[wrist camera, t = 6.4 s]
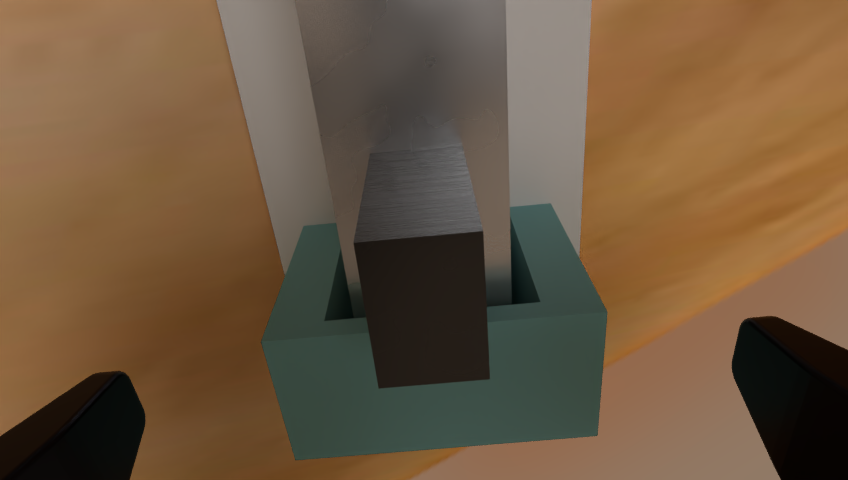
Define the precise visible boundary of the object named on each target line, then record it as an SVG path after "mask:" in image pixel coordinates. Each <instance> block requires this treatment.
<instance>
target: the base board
mask: <svg viewBox="0 0 848 480" xmlns="http://www.w3.org/2000/svg"><path fill="white" fill-rule="evenodd" d="M216 1H217V5H218V9H219V13H220V17H221V21H222V25H223V29H224V33H225V37H226V41H227V45H228V49H229V53H230V57H231V61H232V65H233V69H234V73H235V77H236V81H237V85H238V89H239V93H240V98H241V102H242V106H243V110H244V114H245V118H246V122H247V126H248V130H249V134H250V138H251V142H252V146H253V150H254V154H255V158H256V162H257V166H258V170H259V174H260V178H261V182H262V186H263V190H264V194H265V198H266V202H267V206H268V210H269V214H270V218H271V222H272V226H273V230H274V234H275V238H276V242H277V247H278V251H279V255H280V259H281V263H282V267H283V271H284V275H286V272H287V270H288V267H289V264H290V261H291V259H292V256H293V253H294V251H295V248H296V245H297V242H298V240H299V237H300V234H301V231H302V229H303V226H307V225H318V224H329V223H336V219H335V214H334V209H333V203H332V198H331V192H330V187H329V182H328V176H327V171H326V166H325V160H324V155H323V150H322V144H321V139H320V133H319V128H318V123H317V117H316V112H315V107H314V101H313V96H312V91H311V85H310V80H309V74H308V69H307V64H306V58H305V53H304V48H303V42H302V37H301V32H300V26H299V21H298V15H297V10H296V5H295V0H216ZM591 3H592V0H506V36H507V87H508V138H509V189H510V207H515V206H526V205H537V204H548V203H551V205H552V207H553V209H554V211H555V212H556V214H557V216H558V218H559V220H560V222H561V224H562V226H563V228H564V230H565V232H566V234H567V235H568V237H569V239H570V241H571V243H572V245H573V247H574V249H575V251H576V253H577V255H578V257H579V252H580V231H581V211H582V190H583V169H584V148H585V127H586V107H587V86H588V65H589V44H590V24H591Z"/></svg>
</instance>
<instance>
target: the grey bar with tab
mask: <svg viewBox="0 0 848 480" xmlns="http://www.w3.org/2000/svg"><path fill="white" fill-rule="evenodd" d="M295 5H296V10H297V15H298V21H299V26H300V32H301V37H302V42H303V48H304V53H305V58H306V64H307V69H308V74H309V80H310V85H311V91H312V96H313V101H314V107H315V112H316V117H317V123H318V128H319V133H320V139H321V144H322V150H323V155H324V160H325V166H326V171H327V176H328V182H329V187H330V192H331V198H332V203H333V209H334V214H335V219H336V225H337V230H338V235H339V241H340V246H341V251H342V257H343V262H344V268H345V273H346V278H347V284H348V289H349V294H350V300H351V305H352V310H353V316H354V318H364V317H366V319H367V325H368V330H369V336H370V342H371V348H372V354H373V359H374V365H375V371H376V377H377V382H378V388H379V389H381V388H392V387H404V386H416V385H428V384H440V383H452V382H464V381H476V380H488V379H490V367H489V345H488V324H487V307H491V306H502V305H512V290H511V240H510V189H509V138H508V87H507V36H506V0H295Z"/></svg>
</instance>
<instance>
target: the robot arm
mask: <svg viewBox="0 0 848 480" xmlns="http://www.w3.org/2000/svg"><path fill="white" fill-rule="evenodd" d="M732 372H733V376H734V379H735V381H736V384H737V386H738V388H739V390H740V392H741V395H742V397H743V399H744V401H745V404H746V406H747V408H748V410H749V412H750V415H751V417H752V419H753V421H754V423H755V425H756V428H757V430H758V432H759V434H760V437H761V439H762V441H763V443H764V445H765V448H766V449H767V452H768V454H769V456H770V459H771V460H772V463H773V465H774V467H775V469H776V471H777V473H778V475H779V477H780V479H781V480H848V350H847V349H845V348H842V347H840V346H838V345H836V344H834V343H832V342H830V341H827V340H825V339H823V338H821V337H819V336H817V335H815V334H813V333H810V332H808V331H806V330H804V329H802V328H800V327H797V326H795V325H793V324H791V323H789V322H787V321H784V320H783V319H780V318H778V317H774V316H765V317H753V318H747V319H745V320H744V321H743V322H742V323H741V325H740V328H739V333H738V337H737V342H736V346H735V351H734V355H733V359H732ZM144 427H145V412H144V409H143V406H142V404H141V402H140V400H139V398H138V395H137V393H136V391H135V389H134V387H133V384H132V382H131V380H130V378H129V376H128V375H127V374H126V373H124V372H121V371H112V372H100V373H95V374H93V375H91V376H89V377H88V378H86V379H85V380H83V381H82V382H80V383H79V384H77V385H76V386H74V387H73V388H71V389H70V390H68V391H67V392H65V393H64V394H62V395H61V396H59V397H58V398H56V399H55V400H53V401H52V402H50V403H49V404H48V405H46V406H45V407H43V408H42V409H40V410H39V411H37V412H36V413H34V414H33V415H31V416H30V417H28V418H27V419H25V420H24V421H22V422H21V423H19V424H18V425H16V426H15V427H13V428H12V429H10V430H9V431H7V432H6V433H4V434H3V435H1V436H0V480H130V476H131V473H132V469H133V466H134V463H135V459H136V456H137V452H138V449H139V445H140V442H141V438H142V435H143V431H144Z"/></svg>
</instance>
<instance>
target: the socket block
mask: <svg viewBox="0 0 848 480" xmlns="http://www.w3.org/2000/svg"><path fill="white" fill-rule="evenodd" d="M510 240H511V290H512V305H502V306H491V307H487V324H488V345H489V367H490V379H488V380H476V381H464V382H452V383H440V384H428V385H416V386H404V387H392V388H381V389H379V388H378V382H377V377H376V371H375V365H374V359H373V354H372V348H371V342H370V336H369V330H368V325H367V319H366V317H364V318H354V316H353V310H352V305H351V300H350V294H349V289H348V284H347V278H346V273H345V268H344V262H343V257H342V251H341V246H340V241H339V235H338V230H337V225H336V223H329V224H318V225H307V226H303V229H302V231H301V234H300V237H299V240H298V242H297V245H296V248H295V251H294V253H293V256H292V259H291V261H290V264H289V267H288V270H287V272H286V275H285V278H284V280H283V283H282V286H281V289H280V291H279V294H278V297H277V299H276V302H275V305H274V308H273V310H272V313H271V316H270V319H269V321H268V324H267V327H266V329H265V332H264V335H263V338H262V340H261V344H262V347H263V351H264V354H265V357H266V361H267V364H268V368H269V371H270V375H271V378H272V381H273V385H274V388H275V392H276V395H277V399H278V402H279V405H280V409H281V412H282V416H283V419H284V423H285V426H286V429H287V433H288V436H289V440H290V443H291V447H292V450H293V453H294V457H295V460H305V459H318V458H330V457H342V456H355V455H367V454H379V453H392V452H404V451H417V450H429V449H441V448H454V447H466V446H478V445H489V444H490V445H491V444H503V443H515V442H527V441H540V440H552V439H565V438H577V437H589V436H597V435H598V423H599V410H600V397H601V385H602V373H603V361H604V348H605V336H606V323H607V310H606V308H605V306H604V304H603V303H602V301H601V299H600V297H599V295H598V293H597V291H596V289H595V287H594V285H593V283H592V281H591V280H590V278H589V276H588V274H587V272H586V270H585V268H584V266H583V264H582V262H581V260H580V258H579V257H578V255H577V253H576V251H575V249H574V247H573V245H572V243H571V241H570V239H569V237H568V235H567V234H566V232H565V230H564V228H563V226H562V224H561V222H560V220H559V218H558V216H557V214H556V212H555V211H554V209H553V207H552V205H551V203H548V204H537V205H526V206H515V207H510Z"/></svg>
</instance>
